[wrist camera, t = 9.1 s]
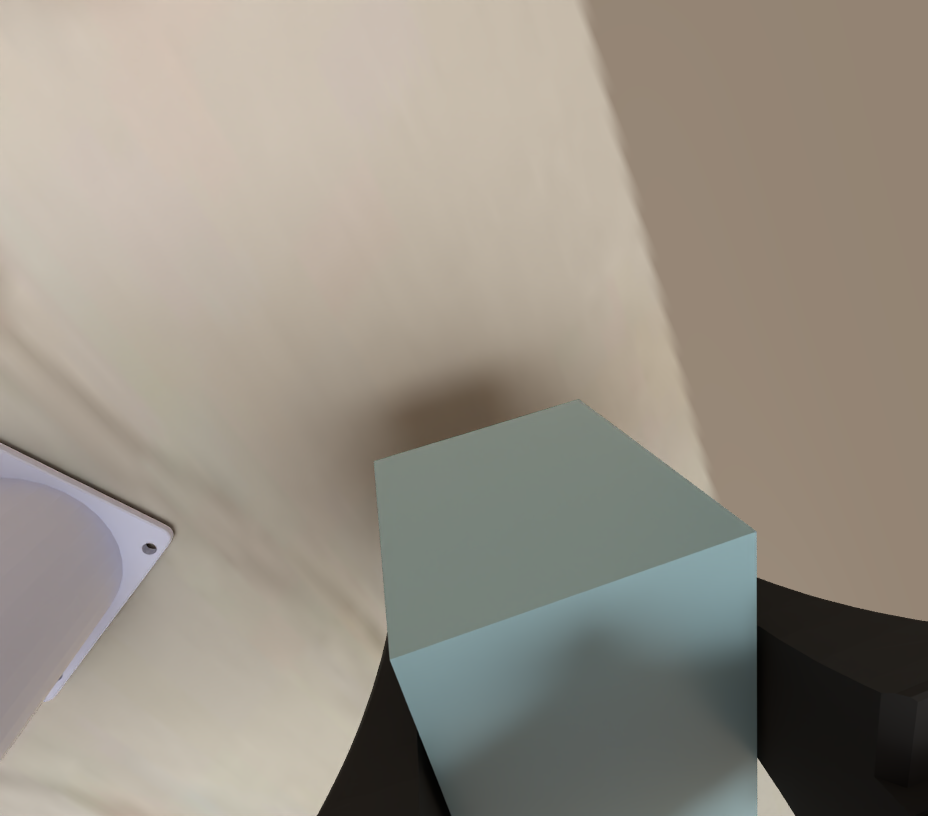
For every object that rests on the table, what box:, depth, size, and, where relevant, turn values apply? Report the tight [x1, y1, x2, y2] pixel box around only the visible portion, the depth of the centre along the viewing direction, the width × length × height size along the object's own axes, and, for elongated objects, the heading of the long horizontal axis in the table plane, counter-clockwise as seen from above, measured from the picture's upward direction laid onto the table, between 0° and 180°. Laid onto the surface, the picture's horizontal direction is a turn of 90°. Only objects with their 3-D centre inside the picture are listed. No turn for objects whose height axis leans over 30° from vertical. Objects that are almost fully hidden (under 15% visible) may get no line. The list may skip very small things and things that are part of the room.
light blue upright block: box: [374, 399, 757, 816], centre depth 12 cm, size 9×6×7 cm
